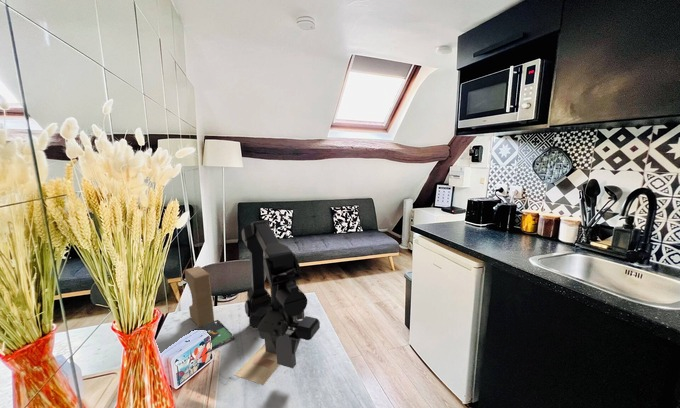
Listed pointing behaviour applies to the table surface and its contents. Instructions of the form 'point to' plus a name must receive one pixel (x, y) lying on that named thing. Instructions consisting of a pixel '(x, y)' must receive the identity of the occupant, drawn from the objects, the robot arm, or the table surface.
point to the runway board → (259, 366)
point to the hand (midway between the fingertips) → (285, 350)
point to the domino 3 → (300, 316)
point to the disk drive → (217, 333)
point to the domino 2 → (285, 351)
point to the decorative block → (200, 296)
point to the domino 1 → (269, 346)
